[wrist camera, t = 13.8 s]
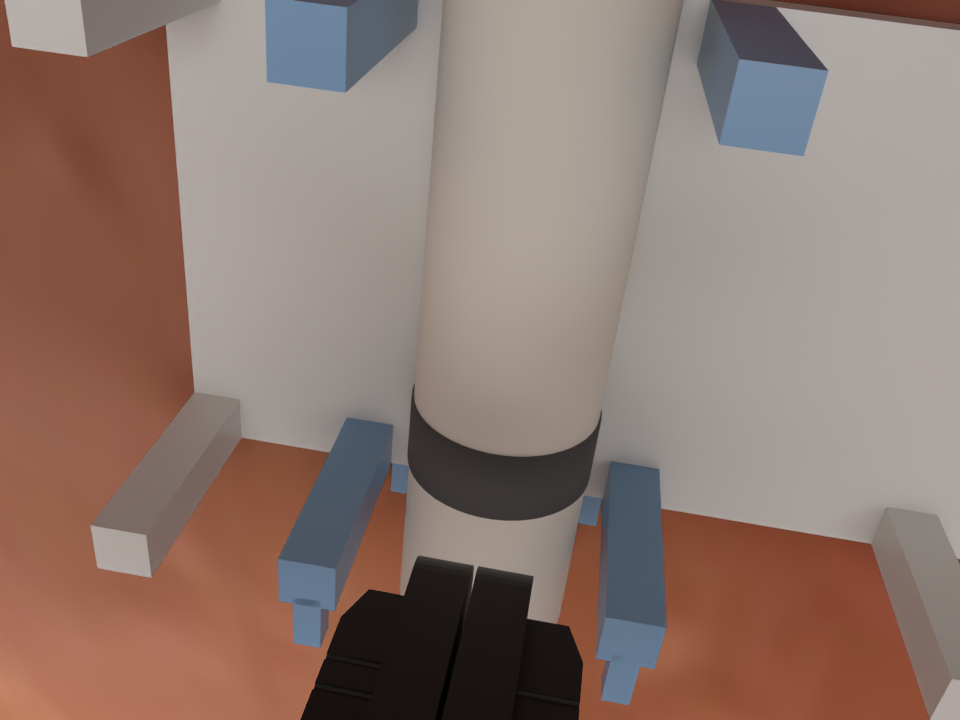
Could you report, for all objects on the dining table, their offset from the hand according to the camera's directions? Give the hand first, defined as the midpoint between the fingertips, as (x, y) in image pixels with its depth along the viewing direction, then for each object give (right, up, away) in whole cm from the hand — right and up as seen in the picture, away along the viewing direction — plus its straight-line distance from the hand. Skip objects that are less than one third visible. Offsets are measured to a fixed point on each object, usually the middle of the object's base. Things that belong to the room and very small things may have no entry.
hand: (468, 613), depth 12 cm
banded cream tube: (+1, +5, +8) cm, 10 cm away
